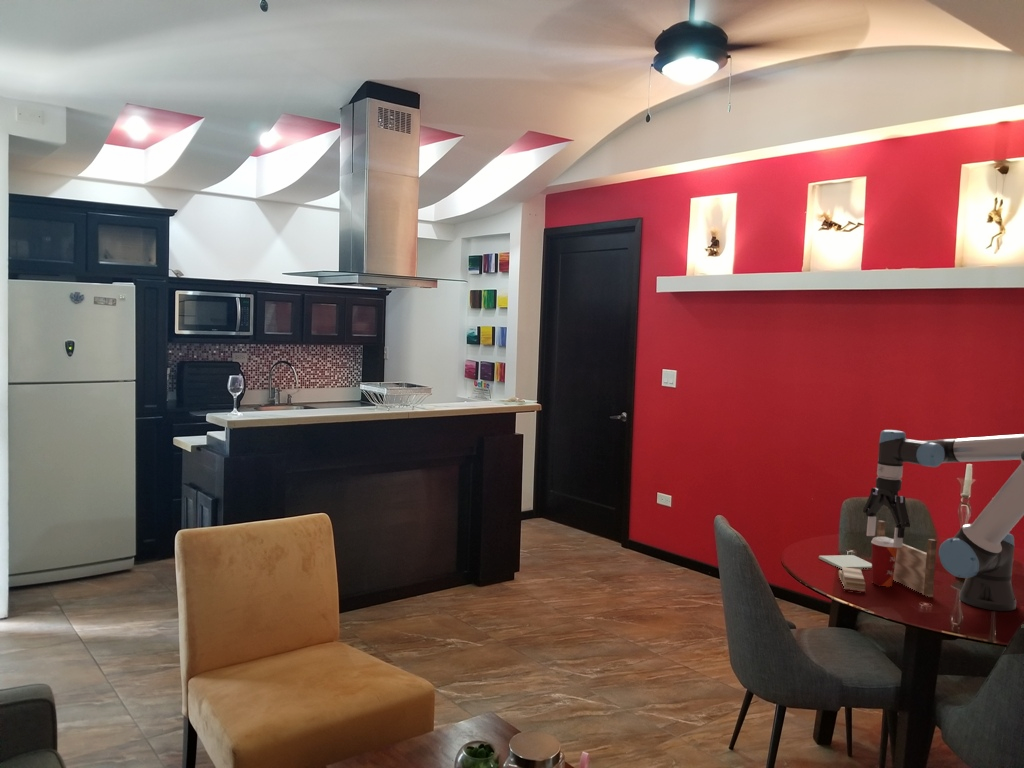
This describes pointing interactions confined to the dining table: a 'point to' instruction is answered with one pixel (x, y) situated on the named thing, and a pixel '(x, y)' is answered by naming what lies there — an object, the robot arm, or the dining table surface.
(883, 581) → the coffee cup
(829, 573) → the dining table surface
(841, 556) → the sage board
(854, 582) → the offcut stack
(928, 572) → the brown flat upright panel
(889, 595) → the dining table surface
